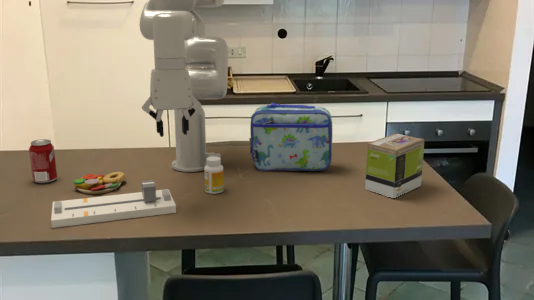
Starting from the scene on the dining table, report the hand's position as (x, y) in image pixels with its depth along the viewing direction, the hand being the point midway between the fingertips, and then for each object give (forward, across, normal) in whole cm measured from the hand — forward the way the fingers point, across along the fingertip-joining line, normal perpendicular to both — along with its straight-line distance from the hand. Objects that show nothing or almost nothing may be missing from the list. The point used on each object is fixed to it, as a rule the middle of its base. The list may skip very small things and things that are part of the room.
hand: (173, 133), depth 139 cm
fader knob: (+17, +7, 0) cm, 18 cm away
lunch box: (+20, -40, -18) cm, 48 cm away
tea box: (+20, -62, +8) cm, 66 cm away
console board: (+19, +16, 0) cm, 25 cm away
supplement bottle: (+20, -12, -6) cm, 24 cm away
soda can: (+20, +34, -29) cm, 49 cm away
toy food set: (+20, +19, -19) cm, 33 cm away
